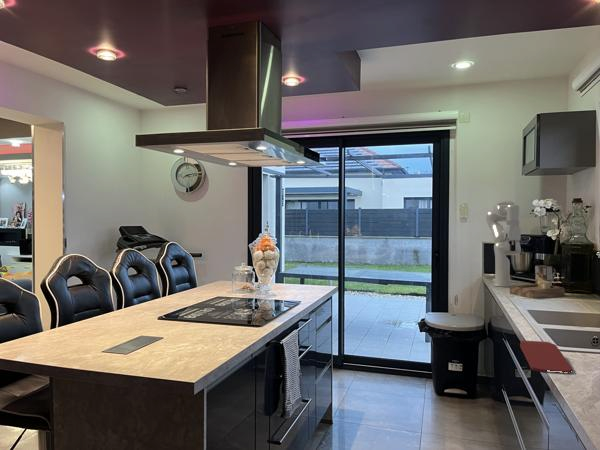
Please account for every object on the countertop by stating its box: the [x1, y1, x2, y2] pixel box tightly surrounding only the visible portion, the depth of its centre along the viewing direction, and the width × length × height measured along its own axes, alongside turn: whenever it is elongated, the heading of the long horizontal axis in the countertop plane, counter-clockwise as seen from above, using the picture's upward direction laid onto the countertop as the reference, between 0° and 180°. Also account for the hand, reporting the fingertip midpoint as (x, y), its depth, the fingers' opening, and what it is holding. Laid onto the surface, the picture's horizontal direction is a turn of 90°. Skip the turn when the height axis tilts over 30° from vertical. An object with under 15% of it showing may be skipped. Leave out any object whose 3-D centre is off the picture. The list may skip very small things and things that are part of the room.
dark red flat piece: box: [519, 340, 574, 373], centre depth 163 cm, size 12×5×25 cm
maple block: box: [538, 281, 551, 288], centre depth 297 cm, size 5×5×4 cm
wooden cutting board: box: [509, 283, 566, 299], centre depth 291 cm, size 18×26×5 cm
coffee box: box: [534, 264, 554, 286], centre depth 310 cm, size 9×6×16 cm
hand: (512, 250), depth 303 cm, fingers closed
